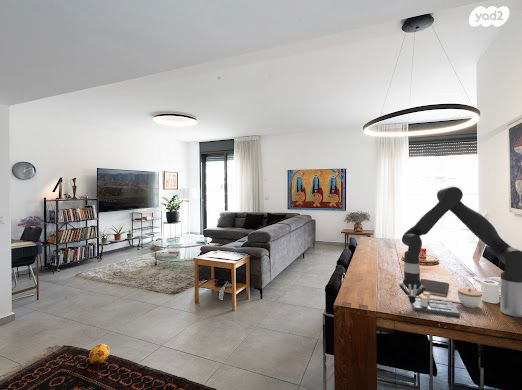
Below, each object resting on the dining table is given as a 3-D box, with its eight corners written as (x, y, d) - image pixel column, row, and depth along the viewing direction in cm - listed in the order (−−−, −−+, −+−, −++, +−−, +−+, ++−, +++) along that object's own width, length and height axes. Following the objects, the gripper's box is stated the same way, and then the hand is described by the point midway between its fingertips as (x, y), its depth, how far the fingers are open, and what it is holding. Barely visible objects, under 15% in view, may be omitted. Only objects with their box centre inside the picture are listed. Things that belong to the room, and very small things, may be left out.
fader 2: (426, 304, 146) (426, 296, 146) (427, 307, 143) (427, 298, 143) (420, 303, 147) (420, 295, 147) (421, 306, 144) (421, 298, 144)
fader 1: (428, 300, 152) (428, 292, 152) (429, 302, 149) (429, 294, 149) (423, 299, 153) (423, 291, 153) (424, 301, 150) (424, 293, 150)
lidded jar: (471, 301, 156) (471, 284, 156) (487, 309, 145) (487, 291, 145) (452, 301, 156) (452, 285, 155) (467, 310, 145) (467, 292, 145)
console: (452, 305, 150) (452, 301, 150) (459, 317, 137) (459, 312, 137) (410, 300, 158) (410, 296, 158) (414, 311, 145) (414, 306, 145)
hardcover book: (416, 291, 172) (416, 288, 172) (421, 281, 191) (421, 278, 191) (446, 297, 163) (446, 293, 163) (449, 286, 181) (449, 283, 181)
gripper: (424, 269, 148) (425, 301, 149) (397, 267, 153) (397, 298, 154) (427, 274, 141) (427, 307, 142) (398, 271, 146) (399, 303, 147)
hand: (412, 302), depth 148 cm, fingers closed
